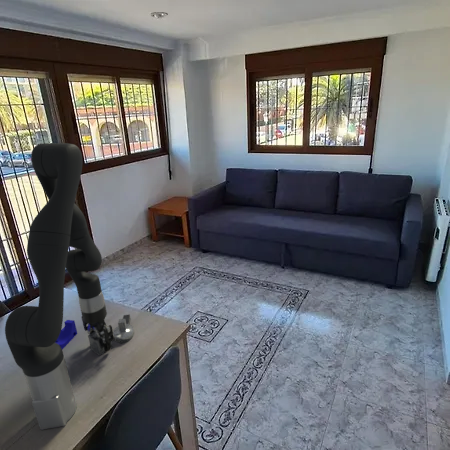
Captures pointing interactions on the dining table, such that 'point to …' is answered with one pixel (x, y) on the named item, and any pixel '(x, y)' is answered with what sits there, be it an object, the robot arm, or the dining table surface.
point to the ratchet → (123, 330)
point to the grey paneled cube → (96, 343)
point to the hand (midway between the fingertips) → (101, 345)
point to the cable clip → (67, 333)
